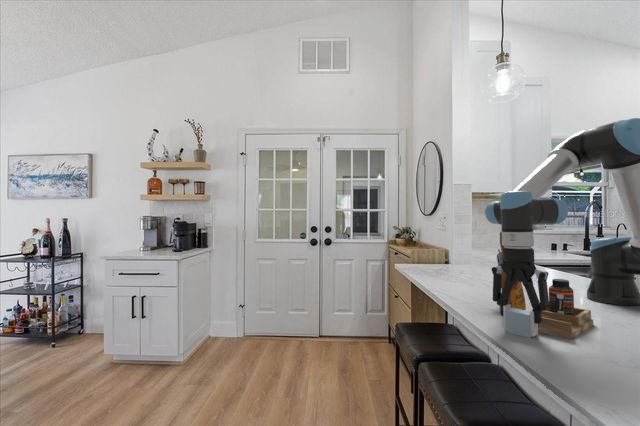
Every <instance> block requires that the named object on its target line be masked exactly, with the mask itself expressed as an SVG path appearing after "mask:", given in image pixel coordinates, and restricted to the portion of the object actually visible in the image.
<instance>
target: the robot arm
mask: <svg viewBox="0 0 640 426" xmlns="http://www.w3.org/2000/svg"><path fill="white" fill-rule="evenodd" d="M594 163H595V164H596V163H601V166H602V168H603V170H605V171H607V172H610V173H611V175H612V179H613V181H614V184H615V187H616V189H617V194H618V196H619V198H620V201H621V204H622V208H623V209H624V213H625V215H626V219H627V221H628V224H629V227H630V230H631V233H632V236H624V237H623V236H622V237H621V236H620V237H611V238H610V237H605V238H596V239H593V240H592V241H591V242H590V250H589V251H590V261H591V262H590V263H591V264H590V265H591V279H590V282H589V285H588V286H587V290H586V298H587V299H589V300H592V301H595V302H598V303H599V302H600V303H604V304H610V305H621V306H638V305H640V289H639V287H638V285H637V283H636V281H635V279H636V278H635V276H640V117H635V118H634V117H632V118H629V119H622V120H618V121H614V122H610V123H606V124H604V125H599V126H596V127H592V128H588V129H584V130H581V131H579V132H578V131H577V133H575V134H573V135H571V136H570V137H568V138H566V139H565V140H564V141H562V142H561V143H560V144H558V145H557V146H556V147H555V148H554V149H552V150H551V151H550V153H548V155H547V159H546V160H545V161H543V162H542V163H541V165H539V166H538V167H537V168H536V169H535V170H533V171H532V172H531V173H530V174H529V175H528V176H527V177H526V178H525V179H524V180H522V181H521V183H519V184H518V185H517V186H516V187H515V188H514V189H512V191H506V192H503V193H501V195H500V200H496V201H492V202H489V203H488V204H487V206H485V212H484V214H485V215H484V216H485V218H486V220H487V221H488V222H489V223H491V224H492V225H493V224H494V225H501V231H502V245H503V246H504V248H503V249H502V251H501V252H502V260H503V263H502V265H501V266H498V265H497V266H492V267H491V272H492V275H493V276H492V280H493V281H492V301H493V302H496V303H497V302H498V303H499V304H500V305H499V308H500V309H499V313H500V316H501V317H503V329H504V330H506V326H505V310H507V309H509V308H511V305H509V304H507V303H508V299H509V296H510V293H511V290H512V287H513V284H514V282H515V281H519V282H521V283H522V287H524V289H525V292H526V294H527V298H528V300H529V303H530V305H531V308H532V310H529V311H530V329H531V336H533V337H536V336H537V335H539V331H538V324H540V323H541V321H542V320H541V311H545V310H547V309H549V308H550V306H549V287H548V281H547V280H548V277H549V272H548V271H546V270H545V271H542V270H539V269H537V267H536V265H535V249H534V248H532V247H534V246H535V244H534V242H535V241H534V240H535V239H534V226H544V225H545V226H546V225H548V226H554V225H557V224H562V223H563V222H564V221H565V220H566V219H567V217H568V215H569V207H568V206H567V204H566V203H565V202H564V201H563V200H562V199H559V198H553V197H546V198H542V197H543V196H544V195H545V194H546V193H547V192H548V191H549V190H550V189H551V188H553V186H554V185H556V184H557V183H559V181H560V180H561V179H563V177H564V176H565V175H566V174H568V173H572V172H574V171H575V170H576V169H578V168H579V167H581V166H586V165H588V164H594ZM502 270H503V271H504V273H505V274H506V275H507V276H506V279H505V285H504V288H503V291H502V288H501V281H502V275H501V274H502ZM534 275H535V276H536V279H537V287H538V289H537V290H538V294H537V291H536V289H535V286H534V281H533V277H534ZM501 292H502V295H501ZM538 296H539V297H538Z"/></svg>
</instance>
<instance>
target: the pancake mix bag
mask: <svg viewBox="0 0 640 426" xmlns="http://www.w3.org/2000/svg"><path fill="white" fill-rule="evenodd" d="M499 245H500V251H501V250H502V249H503V248H504V246H503V245H502V230H501V231H500V232H499ZM502 263H503V260H502ZM506 276H507V275H506V274H505V273H504V271H503V270H502V288H501V292H502V291H503V288H504V285H505V279H506ZM523 287H524V286H523V283H522V282H519V281H515V282H514V284H513V287H512V290H511V293H510V296H509V299H508V303H507V304H509V305H511V308H516V309H521V310H526V309H527V307H526V297H525V293H524V288H523ZM526 311H527V310H526Z"/></svg>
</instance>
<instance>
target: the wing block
mask: <svg viewBox="0 0 640 426" xmlns="http://www.w3.org/2000/svg"><path fill="white" fill-rule="evenodd" d="M530 311H531V310H521V309H516V308H509V309H507V310H505V326H506V329H505V333H509V334H513V335H517V336H520V337H524V338H529V339H531V338H532V337H533V336H531V329H530Z"/></svg>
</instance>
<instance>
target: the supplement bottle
mask: <svg viewBox="0 0 640 426" xmlns="http://www.w3.org/2000/svg"><path fill="white" fill-rule="evenodd" d="M551 282H552V283H551V285H550V286H549V287H548V297H549V306H550V308H549V312H555V313H560V314H565V315H570V316H574V308H575V295H574V289H573V288H572V287H571V286H570V281H569V280H568V279H565V278H564V279H563V278H553V279H552V281H551Z"/></svg>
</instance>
